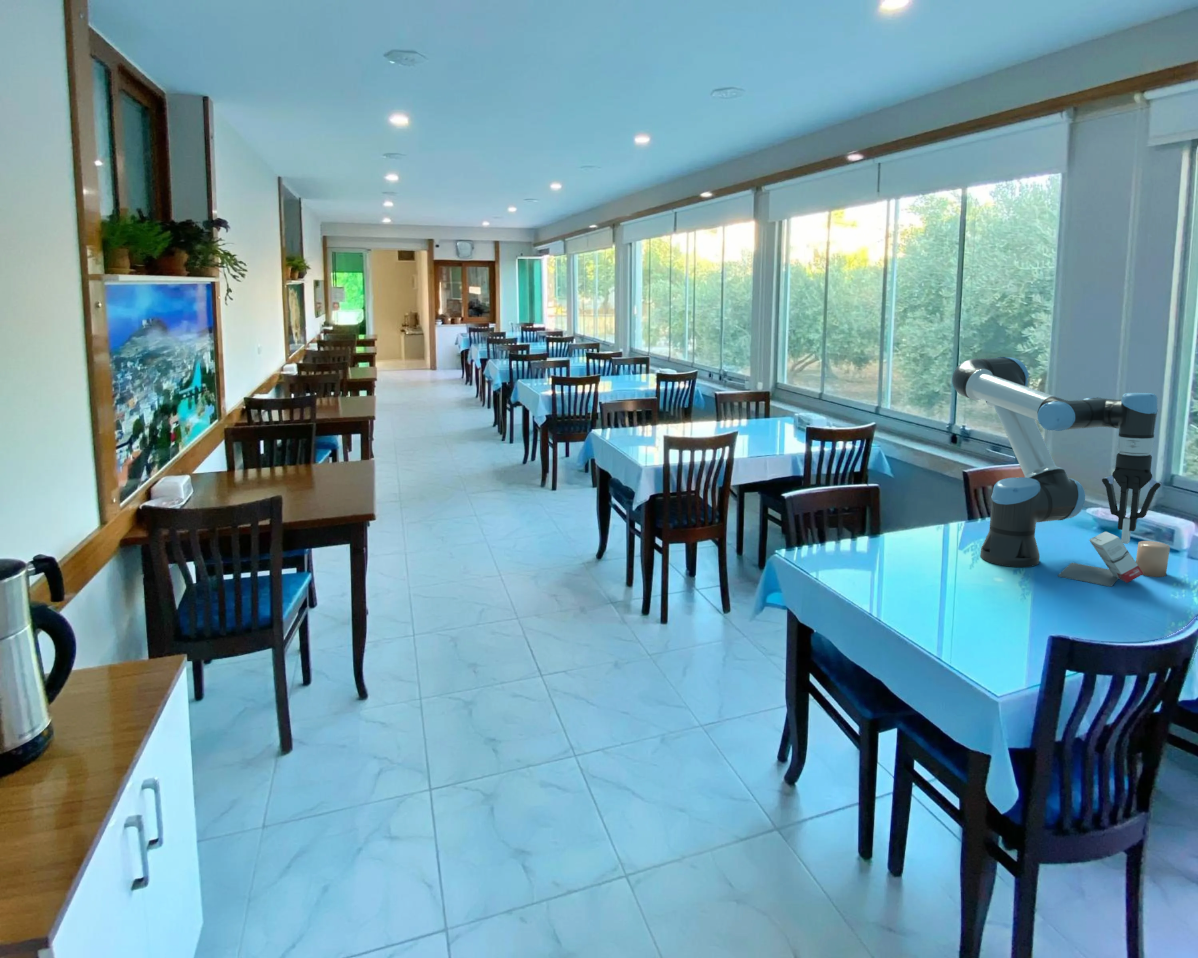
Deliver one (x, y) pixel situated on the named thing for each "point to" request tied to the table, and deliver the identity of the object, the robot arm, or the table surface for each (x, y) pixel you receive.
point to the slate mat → (1089, 574)
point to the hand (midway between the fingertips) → (1125, 542)
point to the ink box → (1116, 556)
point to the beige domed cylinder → (1153, 558)
